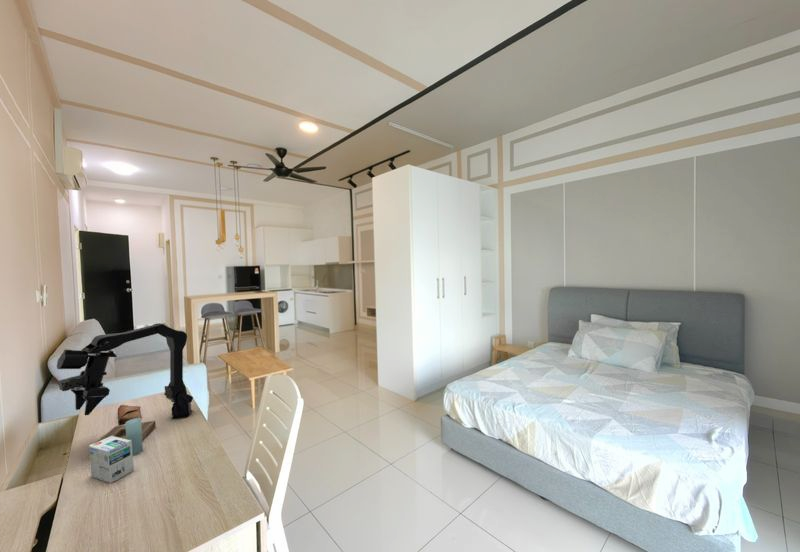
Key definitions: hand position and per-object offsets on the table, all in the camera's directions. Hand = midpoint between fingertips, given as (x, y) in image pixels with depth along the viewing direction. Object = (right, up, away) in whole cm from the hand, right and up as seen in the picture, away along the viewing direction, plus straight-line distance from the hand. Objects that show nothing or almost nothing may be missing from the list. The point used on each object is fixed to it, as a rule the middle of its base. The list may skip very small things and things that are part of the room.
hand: (81, 412), depth 114 cm
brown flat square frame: (+8, -15, +10) cm, 20 cm away
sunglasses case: (-8, -15, +30) cm, 35 cm away
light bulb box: (+22, -16, -11) cm, 29 cm away
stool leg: (+19, -15, +1) cm, 24 cm away
